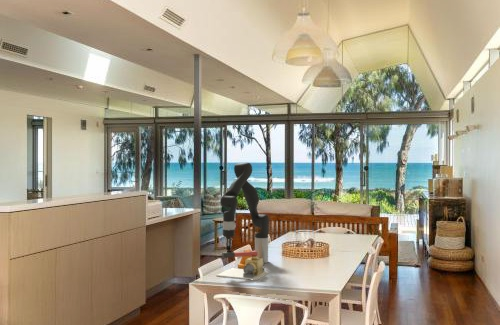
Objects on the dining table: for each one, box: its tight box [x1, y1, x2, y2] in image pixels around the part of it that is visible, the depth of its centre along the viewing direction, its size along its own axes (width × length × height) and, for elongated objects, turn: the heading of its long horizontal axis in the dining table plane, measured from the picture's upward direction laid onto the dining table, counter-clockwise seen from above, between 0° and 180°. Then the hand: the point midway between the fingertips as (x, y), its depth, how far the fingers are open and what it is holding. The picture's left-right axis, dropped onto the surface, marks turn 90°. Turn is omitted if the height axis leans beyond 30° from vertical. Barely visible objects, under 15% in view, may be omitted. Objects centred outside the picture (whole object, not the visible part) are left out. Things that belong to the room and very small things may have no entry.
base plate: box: [216, 267, 270, 281], centre depth 312 cm, size 22×26×1 cm
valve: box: [243, 256, 265, 278], centre depth 310 cm, size 22×8×11 cm, turn 158°
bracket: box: [237, 248, 252, 269], centre depth 331 cm, size 11×7×12 cm, turn 72°
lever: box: [221, 250, 258, 259], centre depth 308 cm, size 22×4×3 cm, turn 109°
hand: (228, 256), depth 309 cm, fingers closed
